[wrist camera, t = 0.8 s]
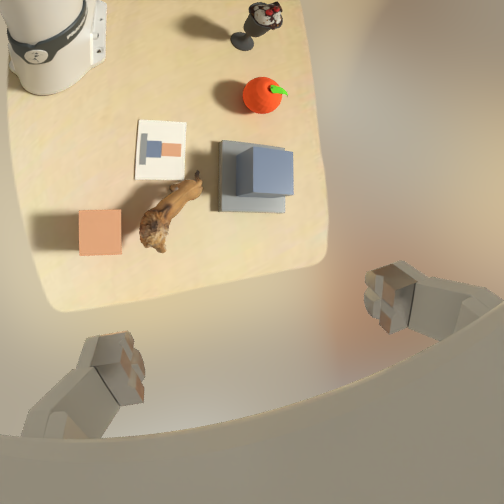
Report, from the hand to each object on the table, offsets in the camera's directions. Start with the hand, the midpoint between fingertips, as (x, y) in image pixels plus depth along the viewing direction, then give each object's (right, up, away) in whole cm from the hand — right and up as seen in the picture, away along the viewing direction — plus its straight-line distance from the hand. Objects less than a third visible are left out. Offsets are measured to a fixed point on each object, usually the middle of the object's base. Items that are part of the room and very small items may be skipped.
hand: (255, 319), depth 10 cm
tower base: (0, +15, +42) cm, 45 cm away
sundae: (-2, +44, +39) cm, 59 cm away
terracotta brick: (-23, +5, +32) cm, 40 cm away
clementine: (+1, +30, +42) cm, 51 cm away
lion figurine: (-13, +9, +37) cm, 40 cm away
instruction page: (-15, +18, +35) cm, 42 cm away
